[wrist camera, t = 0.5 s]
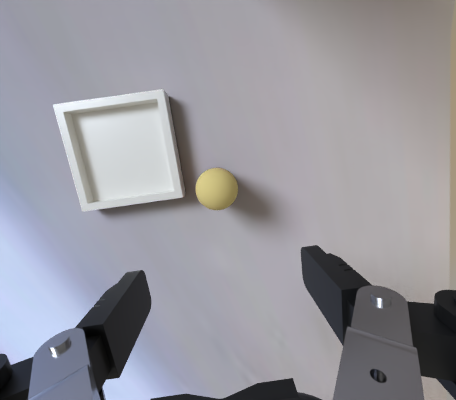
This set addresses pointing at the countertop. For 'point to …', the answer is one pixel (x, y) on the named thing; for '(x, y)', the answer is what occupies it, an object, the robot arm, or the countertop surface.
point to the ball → (216, 189)
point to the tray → (121, 149)
